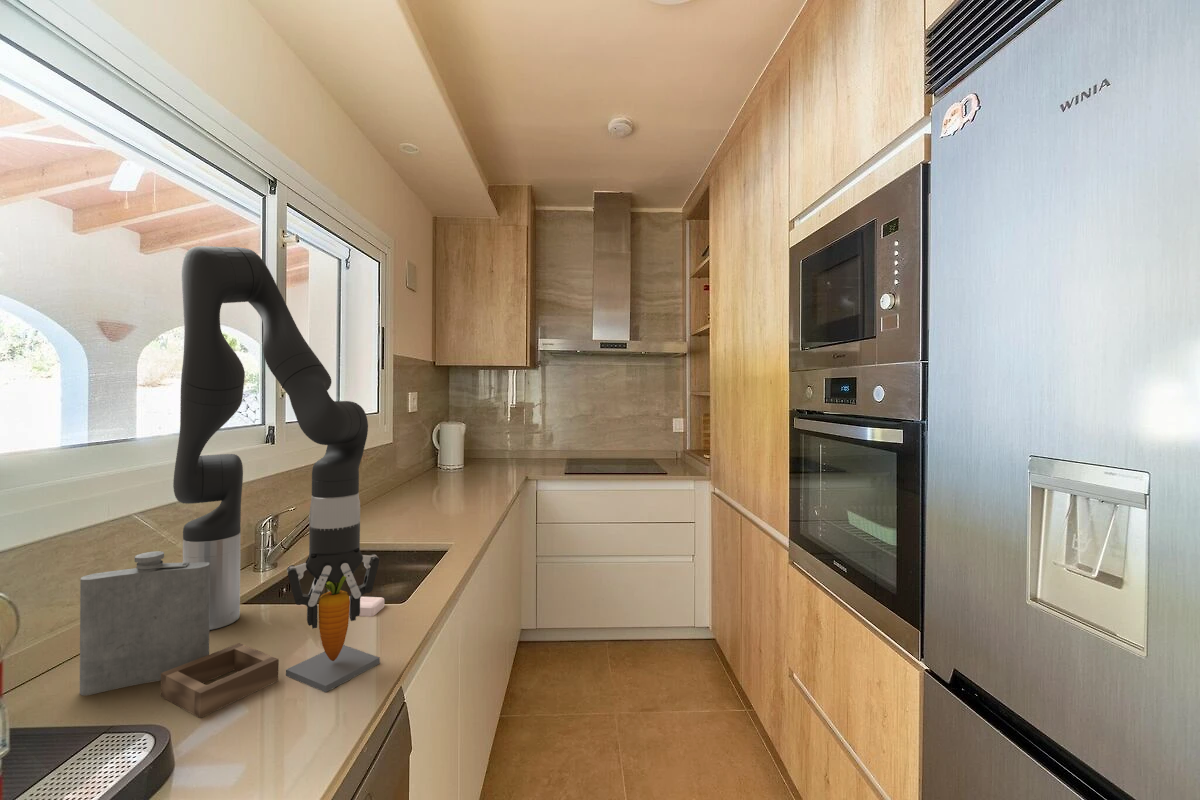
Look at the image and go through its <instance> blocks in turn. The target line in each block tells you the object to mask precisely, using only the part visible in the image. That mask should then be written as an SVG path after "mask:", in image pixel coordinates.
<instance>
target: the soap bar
mask: <svg viewBox="0 0 1200 800" xmlns="http://www.w3.org/2000/svg"><path fill="white" fill-rule="evenodd" d="M350 596H351V595H349V598H350ZM383 608H385V598H384V597H379V596H378V597H377V596H361V598H360V614H359V616H358V617H373V616H375V615H377V613H379V612H380V611H381V610H382V609H383ZM349 616H350V607H349Z"/></svg>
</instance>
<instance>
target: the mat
mask: <svg viewBox="0 0 1200 800" xmlns="http://www.w3.org/2000/svg"><path fill="white" fill-rule="evenodd" d="M380 663H381V659H380V657H379V656H377V655H374V654H371V653H368V652H365V651H363V650H360V649H357V648H353V647H351V646H348V645H345V644H343V647H342V650H341V651H340V653H339V655H338V657H337V658H336V659H335V660H334V661H331V660H330V659H329V658H328V656H327V654H326V653H325V651H323V652H320V653H318V654H316V655H313V656H312V657H309V658H307V659H305V660H303V661H301V662H299V663H297V664H294V665H293V666H290V667H288V668H286V669H285V676H286V677H289V678H291V679H293V680H295V681H297V682H300V683H302V684H305V685H308V686H310V687H312V688H314V689H317V690H319V691H321V692H324V693H327V692H330V690H333V689H335V688H336V687H339V686H340V685H342V684H344V683H346V682H348V681H349V680H351V679H353V678H355V677H357V676H359V675H361V674H363V673H364V672H366V671H368V670H370V669H372V668H374V667H375V666H376V667H377V666H378V665H379V664H380Z"/></svg>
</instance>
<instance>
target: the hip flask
mask: <svg viewBox="0 0 1200 800" xmlns="http://www.w3.org/2000/svg"><path fill="white" fill-rule="evenodd" d="M164 558H165V552H164V551H159V550H158V551H147V552H142V553H139V554H136V555H134V562H135V563H136V567H134V568H128V569H127V568H125V569H117V570H111V571H104V572H96V573H91V574H88V575H87V574H86V575H84V576H81V577H80V580H79V581H80V583H79V585H80V588H79V589H80V590H79V595H80V597H79V602H80V603H79V695H81V696H92V695H95V694H100V693H104V692H108V691H113V690H117V689H122V688H128V687H131V686H137V685H143V684H147V683H154V682H159V681H160V682H161V673H163V672H165V671H168V670H170V669H173V668H176V667H178V666H181V665H183V664H186V663H189V662H191V661H194V660H196V659H199V658H202V657H204V656H207V655H209V654H210V630H209V608H210V563H208V562H199V563H190V562H183V561H182V562H164V561H163V560H162V559H164Z"/></svg>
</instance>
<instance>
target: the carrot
mask: <svg viewBox="0 0 1200 800" xmlns="http://www.w3.org/2000/svg"><path fill="white" fill-rule="evenodd" d="M346 578H347V577H346V576H344V575H343V576H342V578H341V580H340V582H339V583H338V582H335V583H332V582H330V581H328V582H327V583H326V584H327V585H324V588H326V589H327V590H328V591H327V592H324V593H323V594H320V595H321V596H319V598H318V631H319V636H320V642H321V645H322V649H323V650H324V651H323V652H325V653H326V654H327V656H328V658H329V659H330V660H331V661H334V660H335V659H336V658H337V657H338V655H339V653H340V651H341V650H342V647H343V645H345V642H346V637H347V633H348V627H349V623H350V622H349V621H350V615H349V607H350V598H349V596H350V593H349V592H348V591H346V590H342V586H343V585H344V583H345V582H344V581H345V580H346Z"/></svg>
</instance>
